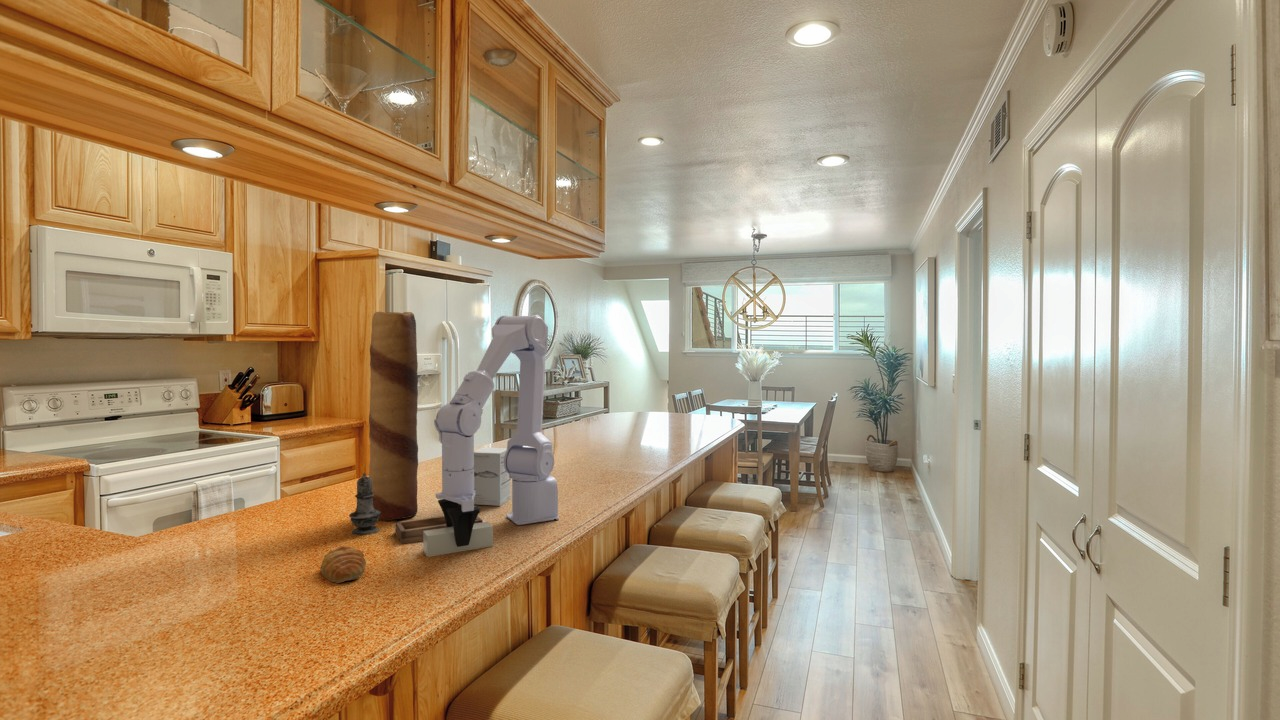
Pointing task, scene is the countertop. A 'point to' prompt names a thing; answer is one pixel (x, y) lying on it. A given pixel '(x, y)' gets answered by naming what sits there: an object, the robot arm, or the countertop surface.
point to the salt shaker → (364, 508)
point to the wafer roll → (393, 414)
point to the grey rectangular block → (445, 541)
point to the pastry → (343, 564)
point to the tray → (420, 528)
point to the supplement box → (491, 477)
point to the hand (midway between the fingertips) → (458, 540)
